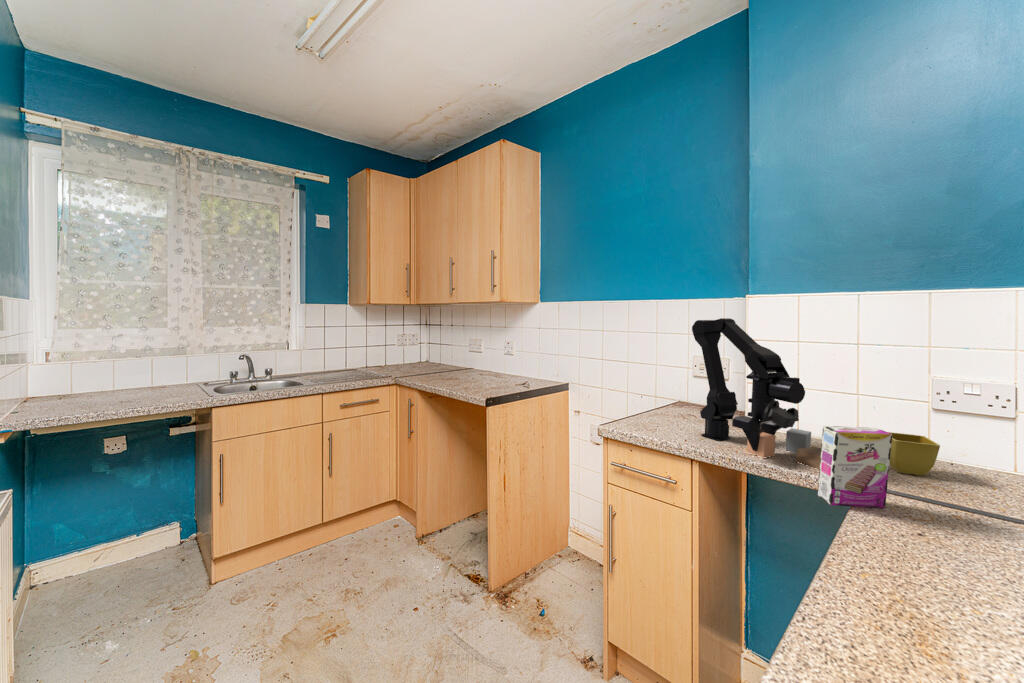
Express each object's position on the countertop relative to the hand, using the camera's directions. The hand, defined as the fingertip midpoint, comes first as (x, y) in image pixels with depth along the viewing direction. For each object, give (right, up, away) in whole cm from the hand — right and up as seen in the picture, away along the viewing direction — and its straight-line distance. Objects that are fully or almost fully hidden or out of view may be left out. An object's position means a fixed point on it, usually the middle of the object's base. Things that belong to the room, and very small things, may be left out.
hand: (760, 449), depth 121 cm
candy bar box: (+2, -4, -30) cm, 31 cm away
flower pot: (+31, -3, -12) cm, 33 cm away
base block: (+11, -2, -8) cm, 14 cm away
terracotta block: (0, -2, 0) cm, 2 cm away
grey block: (+13, -1, +3) cm, 13 cm away
